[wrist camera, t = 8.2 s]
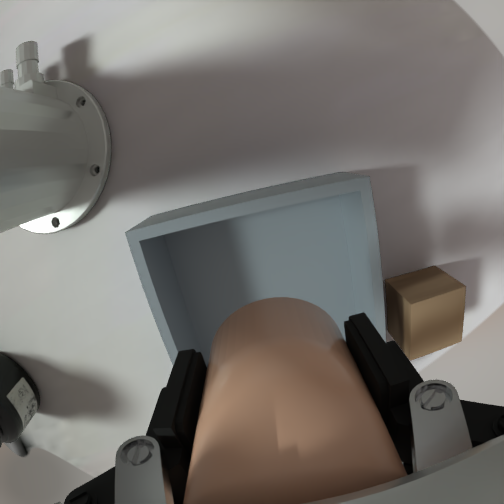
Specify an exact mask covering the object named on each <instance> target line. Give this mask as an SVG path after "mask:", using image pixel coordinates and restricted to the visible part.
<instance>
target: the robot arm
mask: <svg viewBox="0 0 504 504" xmlns="http://www.w3.org/2000/svg"><path fill="white" fill-rule="evenodd" d="M38 62H39V59H38V44H37V42H35V41H28V42H24V43H22V44H20V45H19V46H18V47H17V48H16V65H17V69H18V79H17V80H16V81H15V84H14V81H13V70H11V69H7V70H4V71H2V72H0V233H1V232H4V231H7V230H9V229H12V228H14V227H17V226H20V227H22V228H23V229H25V230H28V231H30V232H33V233H39V234H50V233H56V232H59V231H62V230H64V229H67V228H68V227H70V226H72V225H74V224H76V223H77V222H78V221H80V220H81V219H82V218H83V217H84V216H85V215H87V213H88V212H89V211H90V210H91V208H92V207H93V206H94V205H95V203H96V201H97V200H98V198H99V196H100V194H101V192H102V190H103V188H104V185H105V182H106V179H107V176H108V171H109V166H110V161H111V138H110V130H109V126H108V123H107V120H106V116H105V114H104V112H103V110H102V108H101V106H100V105H99V103H98V102H97V100H96V99H95V98H94V97H93V96H92V95H91V93H89V92H88V91H86V90H85V89H84V88H82V87H81V86H78V85H76V84H73V83H71V82H67V81H62V80H48V81H45V82H44V77H43V74H42V73H39V71H38ZM13 84H14V86H15V89H13ZM85 101H86V103H85V105H84V102H85ZM98 167H99V168H100V172H98V171H97V168H98ZM344 329H345V338H346V343H347V345H348V347H349V349H350V351H351V353H352V355H353V357H354V360H355V362H356V364H357V366H358V368H359V370H360V372H361V374H362V376H363V378H364V380H365V382H366V384H367V387H368V389H369V391H370V393H371V395H372V397H373V399H374V401H375V404H376V406H377V408H378V410H379V412H380V414H381V417H382V419H383V421H384V423H385V425H386V427H387V430H388V432H389V434H390V436H391V439H392V441H393V443H394V445H395V448H396V450H397V452H398V454H399V457H400V459H401V461H402V463H403V466H404V468H405V470H406V473H407V476H404V477H401V478H399V479H396V480H393V481H390V482H387V483H384V484H380V485H377V486H374V487H370V488H367V489H364V490H360V491H356V492H353V493H349V494H345V495H341V496H336V497H332V498H328V499H323V500H318V501H313V502H308V503H303V504H504V407H502V406H496V405H488V404H483V403H476V402H470V401H464V400H460V399H459V396H458V393H457V390H456V389H455V387H454V386H453V385H452V384H450V383H448V382H446V381H443V380H428V381H425V382H424V381H423V379H422V378H421V377H420V375H419V374H418V372H417V371H416V369H415V368H414V367H413V365H412V364H411V362H410V361H409V360H408V358H407V357H406V355H405V354H404V353H403V351H402V350H401V348H400V347H399V346H398V344H397V343H396V342H395V341H390V342H387V343H385V341H384V340H383V338H382V337H381V335H380V334H379V332H378V331H377V330H376V328H375V327H374V325H373V324H372V322H371V321H370V319H369V318H368V317H367V315H366V314H365V313H364V312H363V313H359V314H355V315H351V316H349V320H348V321H344ZM206 371H207V367H206V364H205V361H204V359H203V356H202V353H201V352H196V351H195V349H189V350H182V351H179V352H178V354H177V357H176V360H175V363H174V365H173V368H172V371H171V374H170V377H169V380H168V383H167V386H166V387H164V388H163V389H162V390H161V392H160V395H159V398H158V401H157V404H156V407H155V410H154V413H153V416H152V419H151V422H150V425H149V427H148V430H147V433H146V436H136V437H134V438H131V439H129V440H127V441H125V442H124V443H123V444H122V445H121V446H120V447H119V449H118V450H117V453H116V463H115V467H113V468H111V469H110V470H108V471H106V472H105V473H103V474H101V475H99V476H98V477H96V478H94V479H92V480H91V481H89V482H87V483H85V484H84V485H82V486H80V487H78V488H76V489H75V490H73V491H72V492H71V493H70V494H69V495H68V496H67V497H66V499H65V502H64V504H183V502H184V496H185V489H186V483H187V477H188V472H189V466H190V460H191V454H192V448H193V443H194V437H195V431H196V426H197V420H198V414H199V409H200V403H201V398H202V393H203V387H204V382H205V376H206ZM55 504H62V503H61V502H58V503H55Z"/></svg>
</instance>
